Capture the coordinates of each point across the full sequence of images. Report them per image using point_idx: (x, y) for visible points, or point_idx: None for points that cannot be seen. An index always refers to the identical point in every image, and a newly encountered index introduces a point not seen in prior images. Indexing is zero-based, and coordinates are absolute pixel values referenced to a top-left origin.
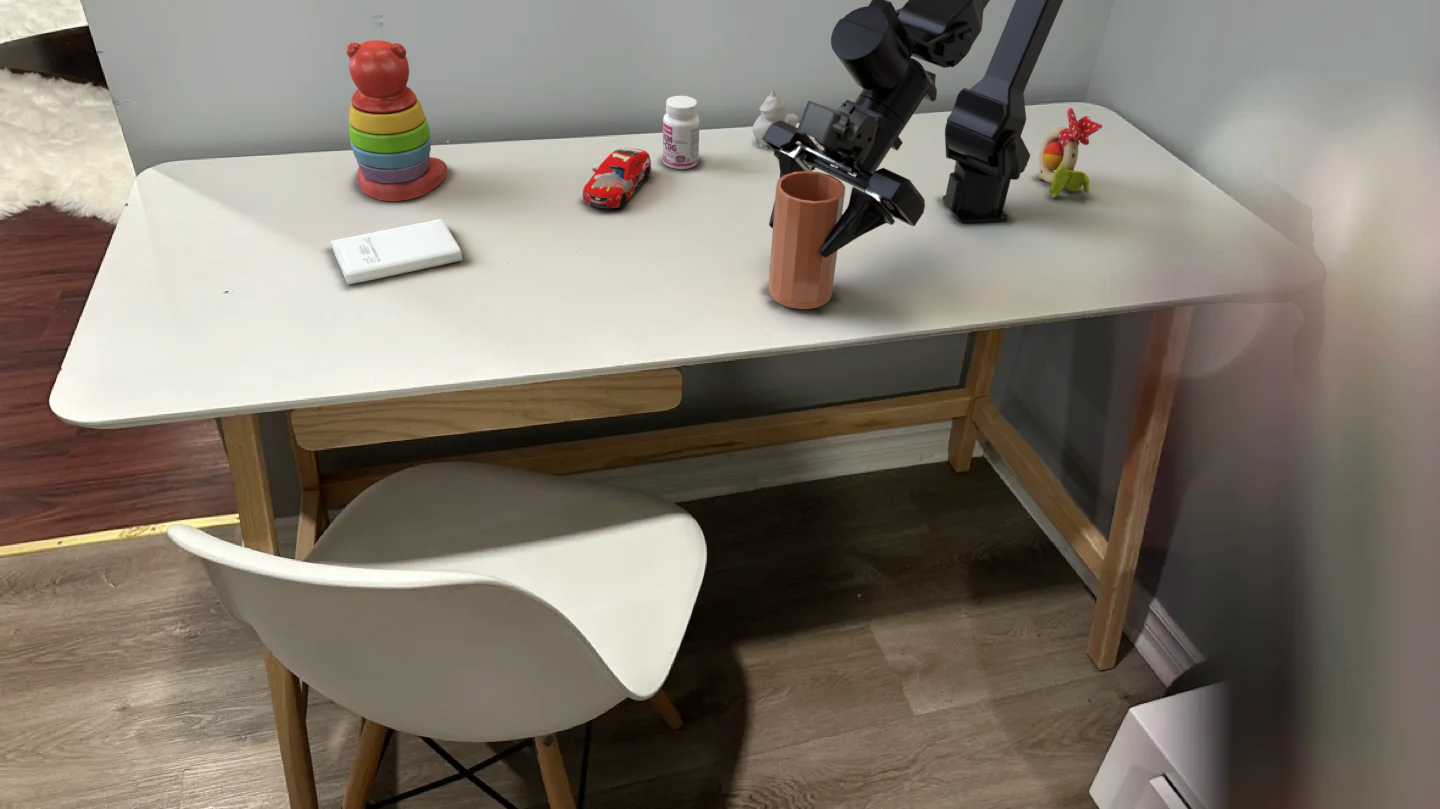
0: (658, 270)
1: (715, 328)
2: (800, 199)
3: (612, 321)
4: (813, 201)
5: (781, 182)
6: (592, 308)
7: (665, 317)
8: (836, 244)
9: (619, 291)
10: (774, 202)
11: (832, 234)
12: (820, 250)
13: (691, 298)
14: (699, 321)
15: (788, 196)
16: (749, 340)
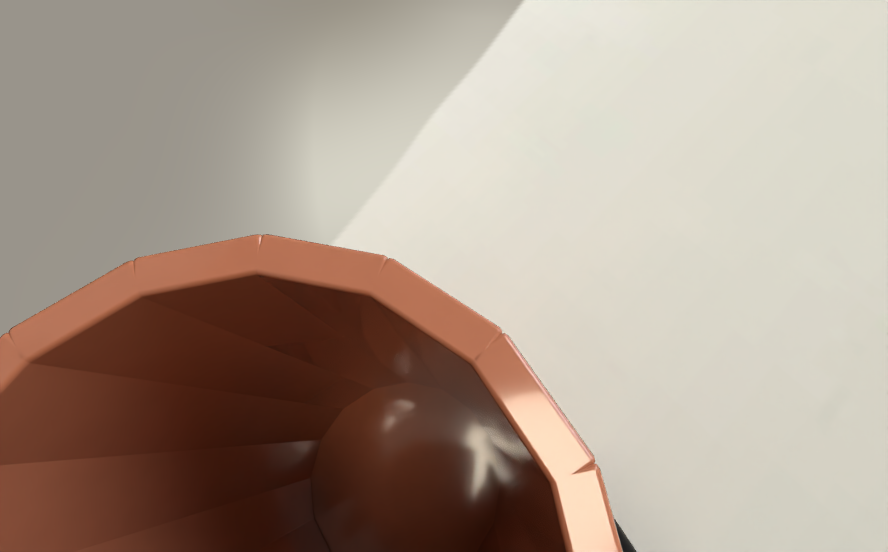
0: (792, 273)
1: (470, 190)
2: (156, 287)
3: (651, 54)
4: (26, 341)
5: (526, 445)
6: (725, 54)
7: (587, 140)
8: None
9: (755, 136)
10: (631, 546)
11: None
12: None
13: (613, 239)
14: (519, 183)
15: (279, 252)
16: (378, 211)
